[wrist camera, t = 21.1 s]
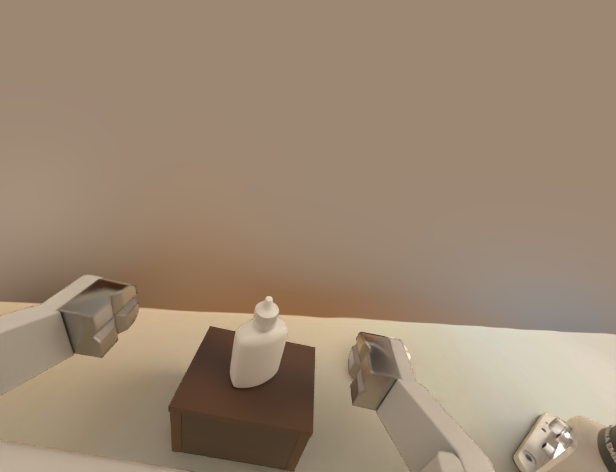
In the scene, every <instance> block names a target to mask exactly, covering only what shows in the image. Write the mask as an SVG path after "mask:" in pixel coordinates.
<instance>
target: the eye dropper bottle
mask: <svg viewBox="0 0 616 472" xmlns="http://www.w3.org/2000/svg"><path fill="white" fill-rule="evenodd" d="M278 313H279V309H278V306H277V305H276V304H275V303H273V298H272V297H270V296H268V297H266V299H265V301H262V302H260V303H258V304H257V305H256V307H255V312H254V317H253V319H251V320H249V321H247V322H246V323H244V324H243V325H241V326H240V327H239V328H238V329H237V330H236V332H235V337H234V343H233V350H232V358H231V365H230V377H231V381H232V384H233V386H234V387H236V388H250V387H255V386H258V385H260V384H263V383H265V382H266V381H268V380H269V379H271V378H272V377H273V376H274V375H275V374H276V373H277V371H278V368H279V365H280V361H281V358H282V354H283V350H284V347H285V343H286V339H287V335H288V330H287V327H286V325H285V323H284V321H283V320H282V319H281V318H278Z"/></svg>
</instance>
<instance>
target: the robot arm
mask: <svg viewBox="0 0 616 472" xmlns="http://www.w3.org/2000/svg"><path fill="white" fill-rule="evenodd" d="M136 294H137V289H136V286H135V285H133V284H129V283H125V282H121V281H117V280H112V279H108V278H103V277H98V276H94V275H90V274H89V275H84V276H82V277H81V278H79V279H77V280H76V281H75V282H73V283H72V284H70V285H69V286H67V287H66V288H64V289H63V290H61V291H60V292H58V293H57V294H55V295H54V296H52V297H51V298H50V299H48V300H47V301H45V302H44V303H42V304H41V305H39V306H38V307H34V306H30V307H27V308H24V309H21V310H18V311H14V312H11V313H8V314H5V315H1V316H0V396H1V395H3V394H4V393H6V392H8V391H10V390H12V389H13V388H15V387H17V386H19V385H21V384H22V383H24V382H26V381H28V380H30V379H31V378H33V377H35V376H37V375H39V374H40V373H42V372H44V371H46V370H48V369H49V368H51V367H53V366H55V365H57V364H58V363H60V362H62V361H64V360H66V359H67V358H69V357H71V356H73V355H74V353H75V354H81V355H88V356H94V357H100V358H102V357H103V356H104V355H105V354H106V353H107V352H108V351H109V350H110V349H111V347H112V346H113V345H114V344H115V343H116V342H117V341H118V334H119V333H121V332H123V331H125V330H127V329H128V328H129V327H130V326H131V325H132V324H133V323H134V321H135V319H136V317H137V315H138V310H139V305H138V304H139V303H138V302H137V300H136V299H135V298H134V296H135V295H136ZM356 340H357V344H356V345H354V346H353V347H352V349H351V351H350V355H349V360H348V368H349V374H350V375H351V377H352V378H353V381H352V383H351V385H350V388H351V396H352V405H353V406H357V407H362V408H366V409H371V410H375V411H376V413H377V415H378V416H379V418H380V420H381V422H382V423H383V425H384V427H385V428H386V430H387V432H388V434H389V435H390V437H391V439H392V441H393V442H394V444H395V446H396V447H397V449H398V451H399V453H400V454H401V456H402V458H403V460H404V461H405V463H406V465H407V466H408V468H409V470H410V472H495V470H494V468H493V465H492V463H491V461H490V459H489V458H488V457H487V456H486V455H485V453H484V452H483V451H482V450H481V449H480V448H479V447H478V446H477V445H476V443H475V442H474V441H473V440H472V439H471V438H470V437H469V436H468V435H467V434H466V432H465V431H464V430H463V429H462V428H461V427H460V426H459V425H458V424H457V422H456V421H455V420H454V419H453V418H452V417H451V416H450V415H449V414H448V413H447V411H446V410H445V409H444V408H443V407H442V406H441V405H440V404H439V403H438V401H437V400H436V399H435V398H434V397H433V396H432V395H431V394H430V393H429V392H428V390H427V389H426V388H425V387H424V386H423V385H422V384H420V383H417V380H416V378H415V375H414V372H413V369H412V367H411V364H410V361H409V358H408V356H407V353H406V350H405V347H404V345H403V342H402V341H401V340H400V339H395V338H390V337H385V336H380V335H375V334H370V333H365V332H360V333H359V334H358V336H357V338H356ZM514 461H515V463H516V465H517V466H518V468H519V470H520V471H521V472H616V424H613V425H610V426H609V427H606V426H604V425H602V424H600V423H598V422H596V421H594V420H591V419H589V418H586V417H583V416H575V417H573V418H571V419H570V420H568V421H567V422H565V421H563V420H561V419H560V418H558V417H555V416H553V415H550V414H548V413H544V414H542V415H541V416H540V417H539V418H538V420H537V421H536V423H535V424H534V426H533V427H532V429H531V430H530V432H529V433H528V435H527V436H526V438H525V439H524V441H523V442H522V444H521V445H520V447H519V448H518V450H517V451H516V453H515V454H514ZM0 472H193V471H187V470H181V469H175V468H169V467H163V466H157V465H151V464H145V463H139V462H133V461H127V460H121V459H115V458H109V457H103V456H97V455H91V454H85V453H79V452H73V451H67V450H61V449H55V448H49V447H43V446H37V445H31V444H25V443H19V442H13V441H7V440H1V439H0Z"/></svg>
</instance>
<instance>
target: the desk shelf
mask: <svg viewBox="0 0 616 472" xmlns="http://www.w3.org/2000/svg"><path fill="white" fill-rule="evenodd" d="M235 332H236V331H231V330H226V329H221V328H216V327H211V326H210V328H209V329H208V331H207V333H206V335H205V337H204V339H203V341H202V343H201V345H200V347H199V349H198V351H197V353H196V355H195V356H194V358H193V360H192V362H191V364H190V366H189V368H188V370H187V372H186V374H185V376H184V378H183V380H182V382H181V383H180V385H179V387H178V389H177V391H176V393H175V395H174V397H173V399H172V401H171V403H170V405H169V407H168V408H169V412H170V421H171V439H172V450H173V451H179V452H185V453H191V454H197V455H203V456H209V457H214V458H220V459H226V460H232V461H238V462H244V463H250V464H256V465H261V466H267V467H273V468H279V469H285V470H290V471H294V470H295V468H296V465H297V463H298V461H299V459H300V457H301V455H302V453H303V451H304V448H305V446H306V444H307V442H308V440H309V438H310V437H311V436H312V433H313V409H314V372H315V347H310V346H305V345H300V344H295V343H290V342H286V343H285V347H284V350H283V354H282V358H281V361H280V365H279V368H278V371H277V373H276V374H275V375H274V376H273V377H272V378H271V379H269V380H268V381H266V382H265V383H263V384H260V385H258V386H255V387H250V388H236V387H234V386H233V384H232V381H231V377H230V365H231V358H232V350H233V343H234V337H235Z"/></svg>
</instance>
